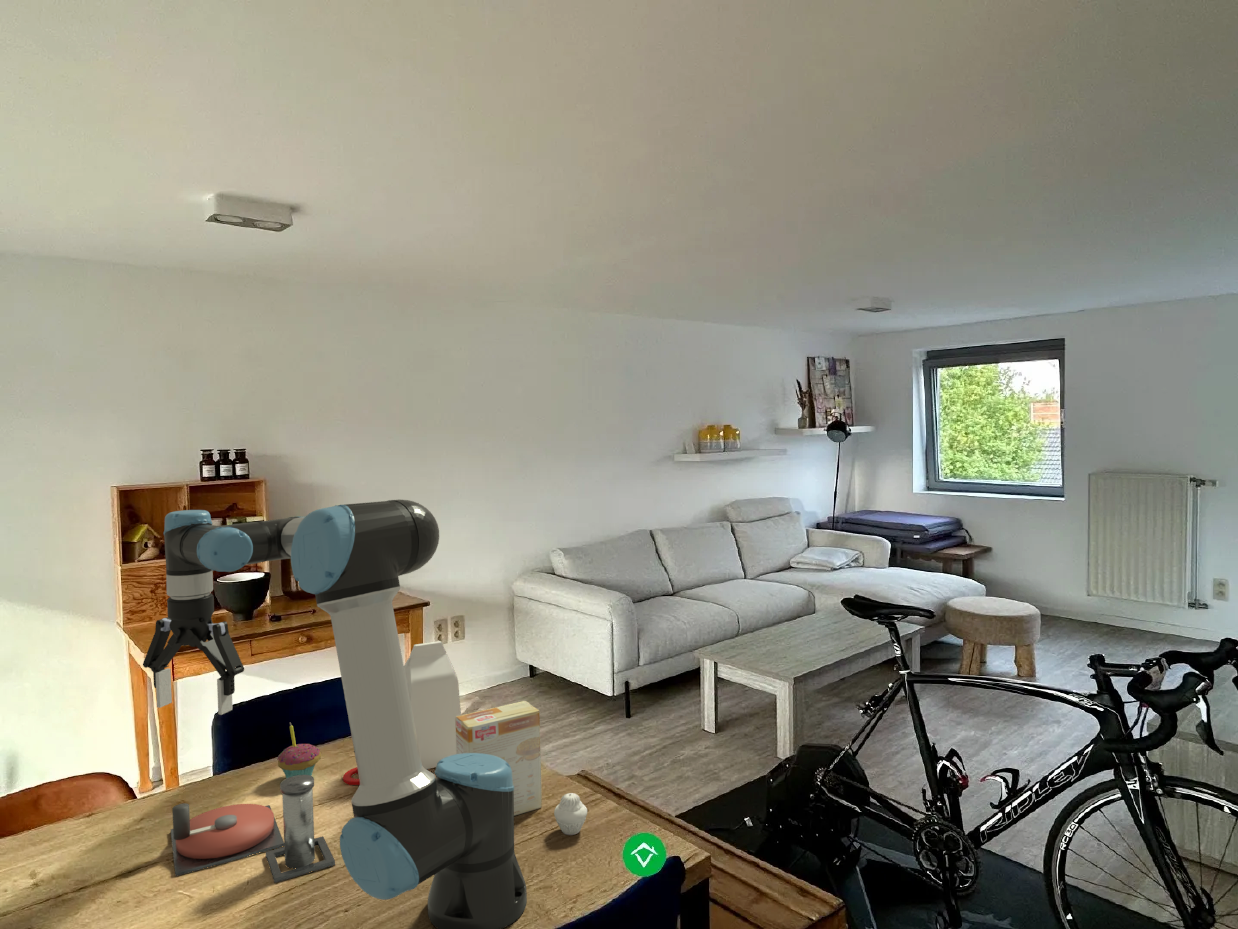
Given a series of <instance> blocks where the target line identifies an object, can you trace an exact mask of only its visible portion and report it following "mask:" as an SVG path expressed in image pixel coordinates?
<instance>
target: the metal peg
mask: <svg viewBox="0 0 1238 929" xmlns="http://www.w3.org/2000/svg"><path fill="white" fill-rule="evenodd" d="M314 786H315V777H314V776H313V775H312V776H310V775H297V776H292V777H289V778H285V779H283V780H282V781H281V782H280V784H279V788H280V789H279V790H280V793H281V795H282V797H281V798H282V815H283V816H282V818H283V841H284V850H285V855H284V865H286V866H287V867H286V866H285V867H286V868H288V869H291V868H293V869H295V868H299V867H302V866H306V865H309V864H313V863H314V861H315V860H316V853H315V852H316V851H315V850H316V849H315V847H316V846H315V845H314V839H315V825H314V824H315V822H314V821H315V820H314V797H313V796H314V793H313V790H314ZM314 859H315V860H314Z"/></svg>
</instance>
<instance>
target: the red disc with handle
mask: <svg viewBox="0 0 1238 929" xmlns="http://www.w3.org/2000/svg"><path fill="white" fill-rule="evenodd" d="M265 806H266V805H263V804H256V803H238V804H230V805H225V806H221V807H217V808H214V809H209V810H207V811H205V812H202V813H201V814H198V815H196V816H194V817H192V818H190V817H191V816H190V804H189V803H178V804H177V805H175V806H173V807H171V808H172V809H171V811H172V813H171V814H172V829H173V835H174V839H175V840H176V849H177V851H178V852H179V853H180V854H181V855H183V856H185V857H189V858H195V859H210V858H218V857H223V856H228V855H232V854H235V853H238V852H241V851H244V850H246V849H249V848H251V847H253V846H255V845H257V844H258V843H260V842H261V841H263V840H264V839H265V838H267V837H268V836H269V835H270V834H271V832H272V831H273V828H274V818H275V814H274V812H273V810H272V808H271V809H269V808H268V807H265Z"/></svg>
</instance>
